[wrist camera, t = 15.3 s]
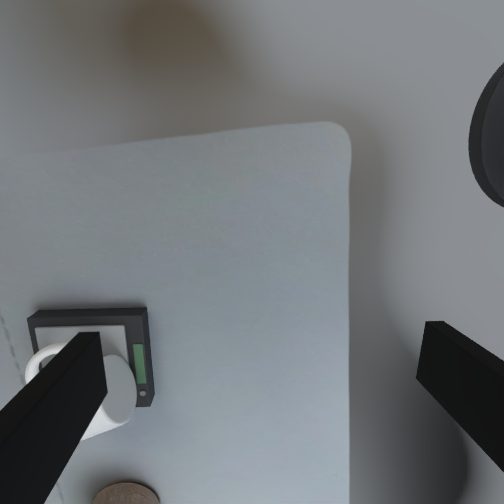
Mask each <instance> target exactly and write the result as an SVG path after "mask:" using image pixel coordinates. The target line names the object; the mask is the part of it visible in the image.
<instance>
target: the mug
mask: <svg viewBox="0 0 504 504" xmlns="http://www.w3.org/2000/svg"><path fill="white" fill-rule="evenodd" d="M67 343H68V342H59V343H54V344H51V345H49V346H47V347H45V348H43V349H41V350H40V351H38V352H37V353H36V354H35V355H34V356H33V357H32V358H31V359H30V361H29V362H28V364H27V367H26V370H25V379H26V383H27V384H28V383H29V382H30V381H31V380H32V379H33V378H34V376H35V375H36V374H37V373H38V372H39V363H40V362H41V360H42V359H44V358H45V357H47V356H49V355H52V354H57V353H58V352H59V351H60V350H61V349H62V348H63V347H64V346H65V345H66V344H67ZM103 360H104V367H105V374H106V382H107V389H108V393H107V395H106V397H105V398H104V400H103V402H102V404H101V405H100V407H99V409H98V411H97V412H96V414H95V416H94V418H93V419H92V421H91V423H90V425H89V426H88V428H87V430H86V431H85V433H84V435H83V437H82V438H81V440H80V441H82V440H85V439H87V438H90V437H92V436H95V435H98V434H100V433H103V432H106V431H108V430H111V429H113V428H116V427H119V426H121V425H124V424H125V423H127V422H128V421H129V419H130V418H131V417H132V415H133V413H134V410H135V406H136V399H137V391H136V383H135V379H134V376H133V373H132V371H131V369H130V367H129V365H128V364H127V363H126V362H125V360H123V359H122V358H121V357H119V356H117V355H108V356H105V357H103Z"/></svg>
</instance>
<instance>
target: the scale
mask: <svg viewBox="0 0 504 504" xmlns="http://www.w3.org/2000/svg"><path fill="white" fill-rule="evenodd" d="M27 322H28V327H29V331H30V336H31V341H32V346H33V351H34V355H35V354H36V353H37V352H38V351H40V350H41V349H43V348H45V347H47V346H49V345H51V344H54V343H59V342H69V341H70V340H71V339H72V338H73V337H74V336H75V335H76V334H77V333H78V332H97V331H100V338H101V345H102V353H103V357H105V356H108V355H117V356H119V357H121V358H122V359H123V360H125V362H126V363H127V364H128V365H129V367H130V369H131V371H132V373H133V376H134V379H135V383H136V391H137V399H136V406H135V407H150V406H151V403H152V400H153V397H154V395H155V393H154V382H153V371H152V360H151V349H150V338H149V327H148V316H147V308H109V309H69V310H39V311H37V312H36V313H34V314H33V315H31V316H30V317H28V318H27ZM55 355H56V354H52V355H49V356H47V357H45V358H44V359H42V360H41V362H40V363H39V371H40V370H41V369H42V368H43V367H44V366H45V365H46V364H47V363H48V362H49V361H50V360H51V359H52V358H53V357H54V356H55Z"/></svg>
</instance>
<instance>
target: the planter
mask: <svg viewBox="0 0 504 504" xmlns="http://www.w3.org/2000/svg"><path fill="white" fill-rule="evenodd" d="M91 504H159V500H158V498H157V497H156V495H155V494H154V493H153V492H152V491H151V490H150V489H149V488H147V487H145V486H143V485H141V484H138V483H133V482H121V483H116V484H112V485H110V486H107V487H105V488H104V489H102V490H101V491H100V492H99V493H98V494H97V495H96V496H95V498H94V499H93V501H92V503H91Z"/></svg>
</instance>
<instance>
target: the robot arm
mask: <svg viewBox="0 0 504 504" xmlns="http://www.w3.org/2000/svg"><path fill="white" fill-rule="evenodd" d="M416 379H417V380H418V381H419V382H420V383H421V384H422V385H423V386H424V388H426V390H427V391H428V392H429V393H430V394H431V395H432V396H433V397H434V398H435V399H436V400H437V401H438V402H439V404H441V406H442V407H443V408H444V409H445V410H446V411H447V412H448V413H449V414H450V415H451V416H452V417H453V419H454V420H455V421H456V422H457V423H458V424H459V425H460V426H461V427H462V428H463V429H464V430H465V431H466V432H467V433H468V435H469V436H470V437H471V438H472V439H473V440H474V441H475V442H476V443H477V444H478V445H479V446H480V447H481V448H482V450H483V451H484V452H485V453H486V454H487V455H488V456H489V457H490V458H491V459H492V460H493V461H494V462H495V463H496V464H497V466H498V467H499V468H500V469H501V470H502V471H503V472H504V361H503V360H501V359H500V358H498V357H497V356H495V355H494V354H492V353H491V352H489V351H488V350H486V349H485V348H483V347H482V346H480V345H479V344H477V343H476V342H474V341H473V340H471V339H470V338H468V337H466V336H465V335H463V334H462V333H461V332H459V331H457V330H456V329H455V328H453V327H452V326H450V325H449V324H447V323H445V322H444V321H426V323H425V329H424V334H423V340H422V346H421V352H420V358H419V364H418V369H417V375H416ZM107 393H108V389H107V382H106V374H105V367H104V360H103V353H102V345H101V338H100V331H97V332H78V333H77V334H76V335H75V336H74V337H73V338H72V339H71V340H70V341H69V342H68V343H67V344H66V345H65V346H64V347H63V348H62V349H61V350H60V351H59V352H58V353H57V354H56V355H55V356H54V357H53V358H52V359H51V360H50V361H49V362H48V363H47V364H46V365H45V366H44V367H43V368H42V369H41V370H40V371H39V372H38V373H37V374H36V375H35V376H34V378H33V379H32V380H31V381H30V382H29V383H28V384H27V385H26V386H25V387H24V388H23V389H22V390H21V391H20V392H19V393H18V394H17V395H16V396H15V397H14V398H13V399H12V400H11V401H10V402H9V403H8V404H7V405H6V406H5V407H4V408H3V409H2V410H1V411H0V504H44V503H45V501H46V499H47V497H48V496H49V494H50V492H51V490H52V489H53V487H54V485H55V484H56V482H57V480H58V478H59V477H60V475H61V473H62V471H63V470H64V468H65V466H66V464H67V463H68V461H69V459H70V458H71V456H72V454H73V452H74V451H75V449H76V447H77V445H78V444H79V442H80V440H81V438H82V437H83V435H84V433H85V431H86V430H87V428H88V426H89V425H90V423H91V421H92V419H93V418H94V416H95V414H96V412H97V411H98V409H99V407H100V405H101V404H102V402H103V400H104V398H105V397H106V395H107Z"/></svg>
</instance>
